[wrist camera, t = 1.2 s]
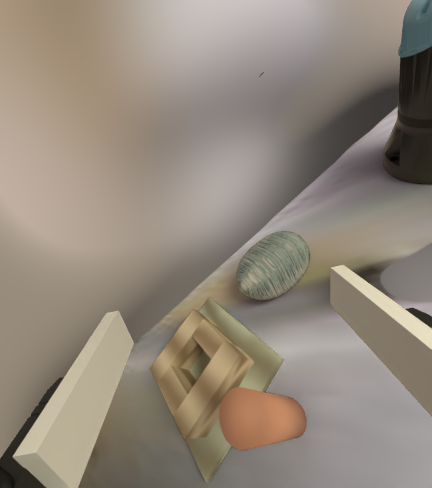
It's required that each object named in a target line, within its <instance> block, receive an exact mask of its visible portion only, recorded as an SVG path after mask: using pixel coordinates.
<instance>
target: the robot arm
mask: <svg viewBox="0 0 432 488" xmlns="http://www.w3.org/2000/svg"><path fill="white" fill-rule="evenodd" d="M398 52H399V56H400V82H399V98H398V118H397V121H396V123H395V125H394V128H393V130H392V132H391V134H390V137H389V139H388V141H387V143H386V146H385V148H384V154H383V163H384V167H385V169H386V171H387V172H388V173H389V174H391V175H392V176H394V177H396V178H398V179H401V180H404V181H408V182H413V183H423V184H432V0H412V1H411V3H410V5H409V6H408V8H407V10H406V13H405V16H404V20H403V29H402V39H401V45H400V47H399V51H398ZM330 305H331V306H332V307H333V308H334V309H335V310H336V311H337V312H338V313H339V315H340V316H341V317H342V318H343V319H344V320H345V321H346V322H347V323H348V325H349V326H350V327H351V328H352V329H353V330H354V331H355V332H356V333H357V334H358V336H359V337H360V338H361V339H362V340H363V341H364V342H365V343H366V344H367V346H368V347H369V348H370V349H371V350H372V351H373V352H374V353H375V354H376V355H377V357H378V358H379V359H380V360H381V361H382V362H383V363H384V364H385V365H386V367H387V368H388V369H389V370H390V371H391V372H392V373H393V374H394V375H395V376H396V378H397V379H398V380H399V381H400V382H401V383H402V384H403V385H404V386H405V388H406V389H407V390H408V391H409V392H410V393H411V394H412V395H413V396H414V398H415V399H416V400H417V401H418V402H419V403H420V404H421V405H422V406H423V407H424V409H425V410H426V411H427V412H428V413H429V414H430V415H431V416H432V317H431V316H430V315H428V314H426V313H424V312H421V311H419V310H417V309H414V308H409V309H404V308H402V307H401V306H400V305H398V304H397V303H395V302H394V301H393V300H391V299H390V298H388V297H387V296H386V295H384V294H383V293H382V292H380V291H379V290H377V289H376V288H375V287H373V286H372V285H370V284H369V283H368V282H366V281H365V280H364V279H362V278H361V277H359V276H358V275H357V274H355V273H354V272H352V271H351V270H350V269H348V268H347V267H345V266H344V265H340V266H336V267H331V280H330ZM133 345H134V343H133V340H132V338H131V336H130V334H129V332H128V330H127V328H126V325H125V323H124V321H123V319H122V317H121V315H120V313H119V311H115V312H109V313H106V315H105V316H104V318H103V319H102V321H101V322H100V324H99V325H98V327H97V328H96V330H95V331H94V333H93V335H92V336H91V337H90V339H89V341H88V342H87V344H86V345H85V347H84V348H83V350H82V351H81V353H80V354H79V356H78V357H77V359H76V360H75V362H74V363H73V365H72V366H71V368H70V370H69V371H68V373H67V374H66V376H65V377H63V378H59V379H58V380H57V381H56V382H55V383H54V384H53V386H51V387H50V388H49V389H48V390H47V392H46V393H45V395H44V396H43V398H42V399H41V401H40V402H39V405H38V406H36V408H35V409H34V411H33V412H32V414H31V417H29V418H28V419H27V421H26V423H25V424H24V425H23V427H22V428H21V430H20V431H19V432H18V434H17V435H16V437H15V438H14V440H13V441H12V443H11V444H10V446H9V447H8V448H7V450H6V451H5V453H4V454H3V456H2V457H1V459H0V488H78V486H79V484H80V481H81V478H82V476H83V473H84V471H85V468H86V466H87V463H88V460H89V458H90V455H91V453H92V450H93V448H94V445H95V442H96V440H97V437H98V435H99V432H100V430H101V427H102V424H103V422H104V419H105V417H106V414H107V412H108V409H109V406H110V404H111V401H112V399H113V396H114V394H115V391H116V388H117V386H118V383H119V381H120V378H121V376H122V373H123V370H124V368H125V365H126V363H127V360H128V358H129V355H130V352H131V350H132V347H133Z"/></svg>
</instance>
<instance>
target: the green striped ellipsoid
mask: <svg viewBox="0 0 432 488" xmlns="http://www.w3.org/2000/svg"><path fill="white" fill-rule="evenodd" d="M309 260H310V252H309V248H308V246H307V244H306V242H305V241H304V240H303V239H302V238H301V237H300V236H299V235H297V234H295V233H293V232H288V231H282V232H276V233H273V234H271V235H269V236H267V237H265V238H263V239H262V240H261V241H259V242H258V243H256V244H255V245H254V246H253V247H252V248H250V250H249V251H248V252H247V253H246V254H245V255H244V257H243V258H242V260H241V261H240V263H239V266H238V270H237V285H238V287H239V289H240V291H241V292H242V293H243V294H244V295H246V296H248V297H250V298H252V299H255V300H271V299H274V298H277V297H279V296H281V295H283V294H284V293H286V292H288V291H289V290H290V289H291V288H292V287H293V286H294V285H296V284H297V282H298V281H299V280H300V279H301V277H302V276H303V275H304V273H305V272H306V270H307V268H308V265H309Z"/></svg>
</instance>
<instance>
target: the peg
mask: <svg viewBox="0 0 432 488" xmlns="http://www.w3.org/2000/svg"><path fill="white" fill-rule="evenodd" d="M219 420H220V426H221V430H222V433H223V435H224V437H225V439H226V440H227V442H228V443H229V444H230V445H231V446H233V447H234V448H236V449H238V450H247V449H252V448H256V447H260V446H264V445H268V444H273V443H277V442H281V441H285V440H290V439H294V438H298V437H300V436H301V435H302V434H303V433H304V431H305V429H306V416H305V412H304V410H303V408H302V407H301V405H300V404H299V403H298V402H297V401H296V400H294V399H293V398H290V397H285V396H280V395H276V394H271V393H266V392H261V391H257V390H252V389H247V388H242V387H236V388H233V389H231V390H230V391H228V392H227V393H226V395H225V396H224V398H223V400H222V403H221V406H220V412H219Z"/></svg>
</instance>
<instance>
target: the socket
mask: <svg viewBox="0 0 432 488" xmlns="http://www.w3.org/2000/svg"><path fill="white" fill-rule="evenodd" d="M283 361H284V359H283V358H281V357H280V356H279V355H278V354H277V353H276V352H274V351H273V350H272V349H271V348H270V347H268V346H267V345H266V344H265V343H264V342H262V341H261V340H260V339H259V338H258V337H256V336H255V335H254V334H253V333H252V332H250V331H249V330H248V329H247V328H246V327H244V326H243V325H242V324H241V323H240V322H239V321H237V320H236V319H235V318H234V317H233V316H231V315H230V314H229V313H228V312H227V311H225V310H224V309H223V308H222V307H221V306H219V305H218V304H217V303H216V302H215V301H213V300H212V299H211V298H208V300H207V301H206V302H205V304H204V305H203V307H202V308H201V309H200V311H199V312H198V311H196V310H195V309H193V310H192V311H191V313H190V314H189V316H188V317H187V318H186V320H185V321H184V322H183V324H182V325H181V326H180V328H179V329H178V331H177V332H176V333H175V335H174V336H173V337H172V339H171V340H170V341H169V343H168V344H167V346H166V347H165V348H164V350H163V351H162V352H161V354H160V355H159V356H158V358H157V359H156V361H155V362H154V363H153V365H152V366H151V367H150V370H151V372H152V374H153V376H154V378H155V380H156V382H157V384H158V386H159V388H160V390H161V392H162V395H163V397H164V399H165V401H166V403H167V405H168V407H169V409H170V411H171V413H172V415H173V417H174V419H175V421H176V423H177V425H178V427H179V429H180V431H181V434H182V436H183V438H184V439H185V441H186V443H187V445H188V447H189V449H190V451H191V453H192V455H193V457H194V459H195V461H196V463H197V465H198V467H199V469H200V472H201V474H202V476H203V478H204V480H205V482H209V481H211V479H212V477H213V476H214V474H215V472H216V471H217V469H218V467H219V466H220V464H221V462H222V461H223V459H224V458H225V456H226V454H227V453H228V451H229V449H230V448H231V445H230V444H229V443H228V442H227V440H226V439H225V437H224V435H223V433H222V430H221V426H220V420H219V412H220V406H221V403H222V400H223V398H224V396H225V395H226V393H227V392H228V391H230V390H231V389H233V388H236V387H242V388H247V389H252V390H257V391H261V392H265V390H266V389H267V387H268V385H269V384H270V382H271V380H272V379H273V377H274V375H275V374H276V372H277V371H278V369H279V367H280V366H281V364H282V362H283Z"/></svg>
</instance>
